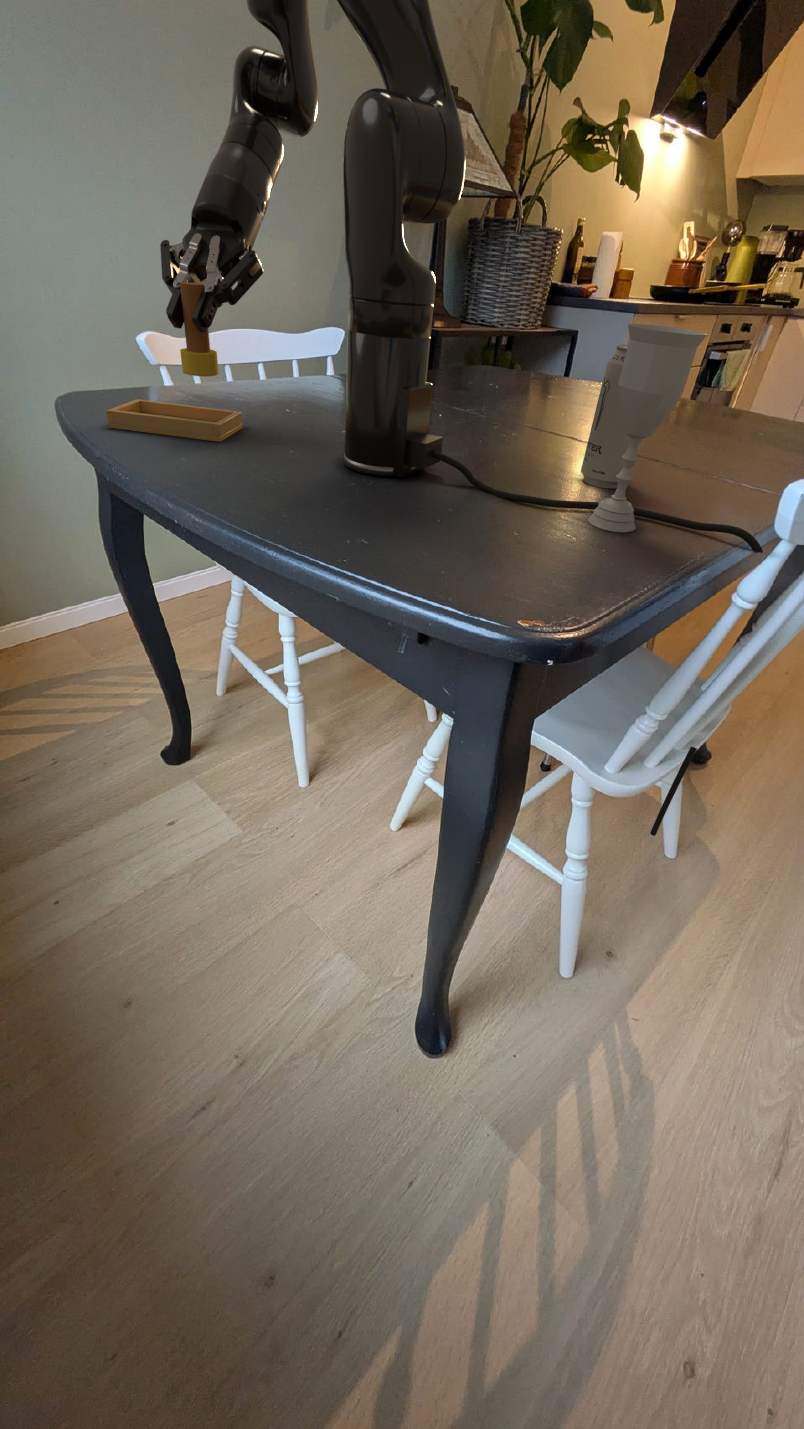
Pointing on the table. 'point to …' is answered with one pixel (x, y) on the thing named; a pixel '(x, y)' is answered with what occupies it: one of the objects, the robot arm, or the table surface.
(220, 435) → the tray
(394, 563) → the table surface
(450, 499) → the table surface
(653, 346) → the chalice
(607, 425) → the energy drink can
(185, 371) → the peg on yellow base
